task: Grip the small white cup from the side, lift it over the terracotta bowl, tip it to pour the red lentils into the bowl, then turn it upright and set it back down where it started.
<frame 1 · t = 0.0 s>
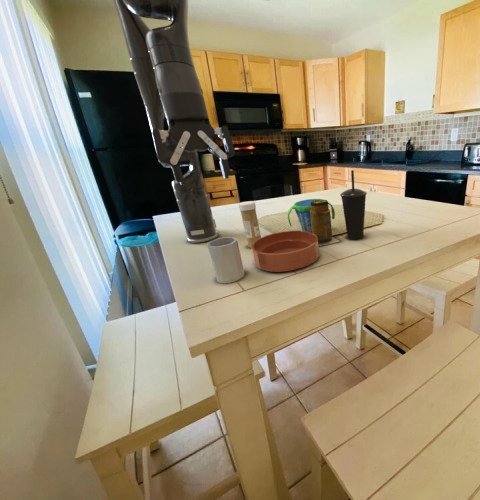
hand: (205, 181, 57), 22 cm above the table, tool pointing down, fingers open, 8 cm apart
drinking cup: (355, 237, 84), on the table
condiment: (323, 240, 83), on the table
bowl: (287, 258, 72), on the table, 0 lentils inside
sprinkles bottle: (255, 246, 83), on the table
snack cup: (313, 232, 92), on the table
white cup: (230, 276, 65), on the table, 20 lentils inside
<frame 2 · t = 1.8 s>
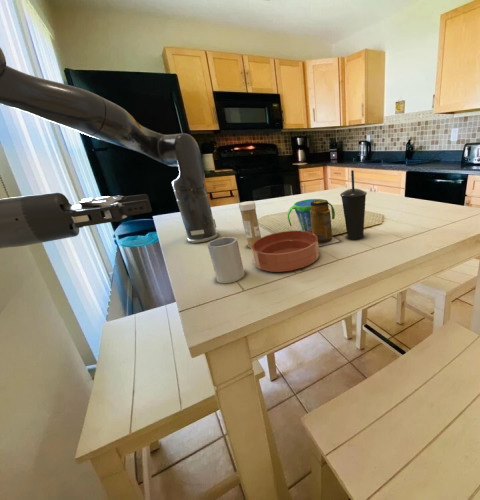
hand: (149, 202, 52), 20 cm above the table, tool horizontal, fingers open, 8 cm apart
nothing on the table moved.
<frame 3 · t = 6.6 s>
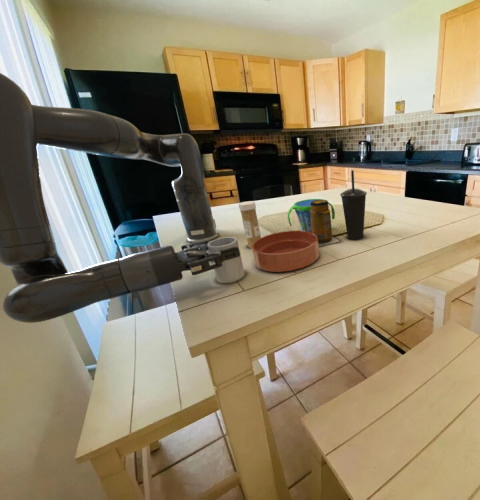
hand: (234, 247, 63), 7 cm above the table, tool horizontal, fingers closed on white cup, 6 cm apart
white cup: (230, 276, 65), on the table, 20 lentils inside, touching gripper
everything else where it was.
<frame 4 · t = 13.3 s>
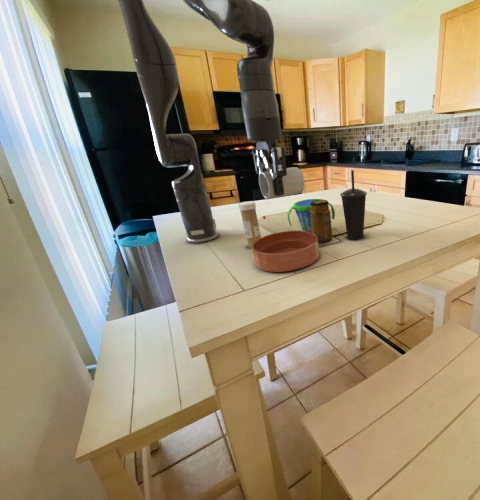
hand: (273, 193, 65), 18 cm above the table, tool pointing down, fingers closed on white cup, 6 cm apart
white cup: (298, 180, 68), point 20 cm above the table, tilted 90°, 19 lentils inside, touching gripper
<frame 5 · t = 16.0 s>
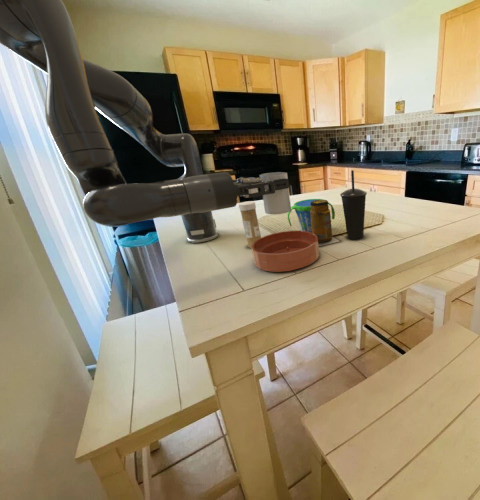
hand: (281, 181, 65), 20 cm above the table, tool horizontal, fingers closed on white cup, 6 cm apart
bowl: (287, 258, 72), on the table, 2 lentils inside
white cup: (278, 211, 67), point 13 cm above the table, 18 lentils inside, touching gripper
when the fingers open (8 cm above the table, at t = 22.1 s): white cup moves 1 cm, on the table.
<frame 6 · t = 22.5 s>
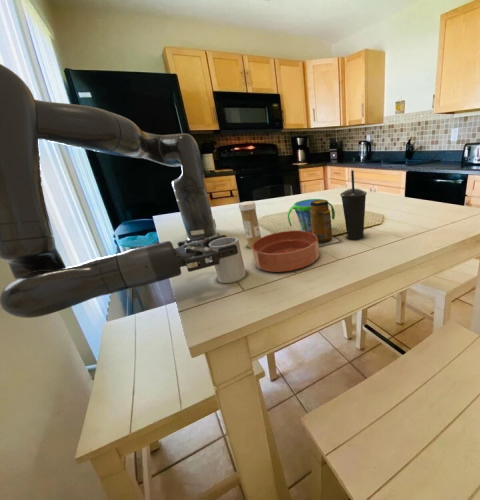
hand: (231, 243, 63), 8 cm above the table, tool horizontal, fingers open, 8 cm apart
white cup: (232, 276, 65), on the table, 18 lentils inside
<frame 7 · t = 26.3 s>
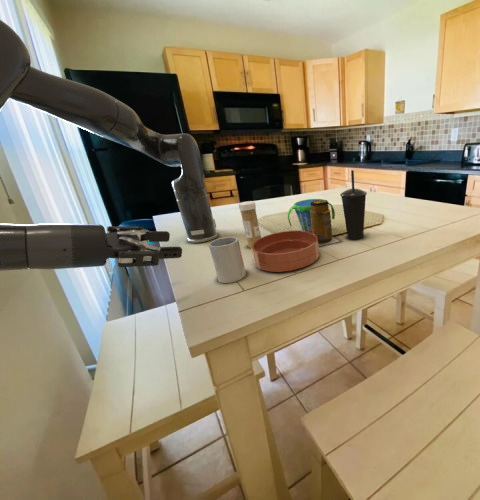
hand: (174, 243, 58), 11 cm above the table, tool tilted 75°, fingers open, 8 cm apart
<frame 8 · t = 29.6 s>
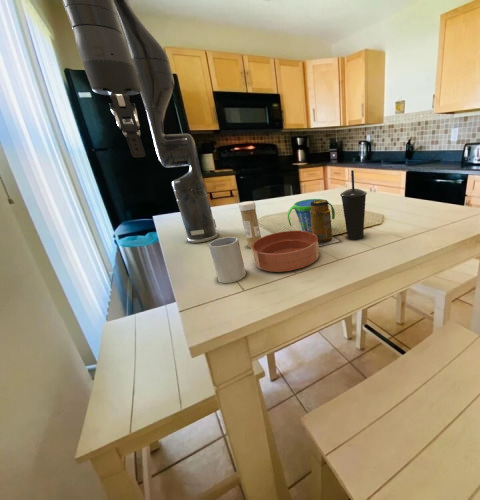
hand: (139, 157, 55), 28 cm above the table, tool pointing down, fingers open, 8 cm apart
at the end: white cup inside the target area (0.3 cm from its centre), on the table; white cup tilted 0°; the gripper is holding nothing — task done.
